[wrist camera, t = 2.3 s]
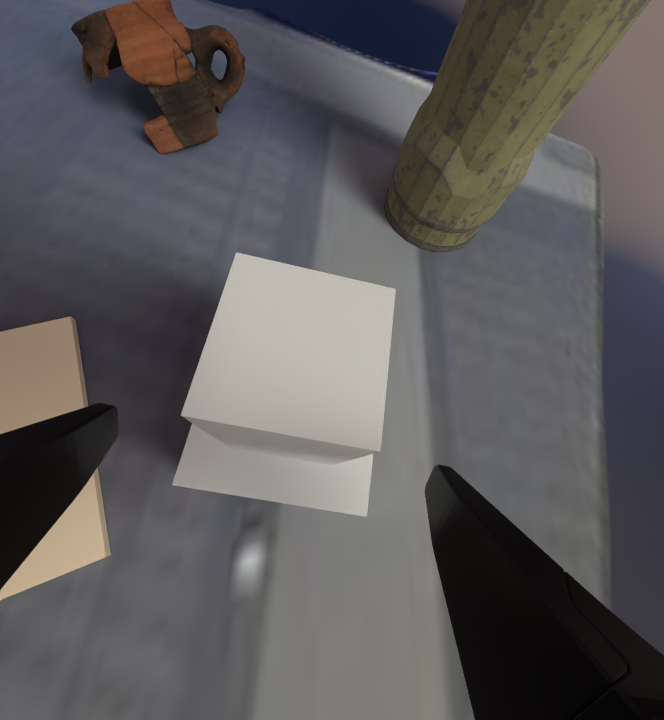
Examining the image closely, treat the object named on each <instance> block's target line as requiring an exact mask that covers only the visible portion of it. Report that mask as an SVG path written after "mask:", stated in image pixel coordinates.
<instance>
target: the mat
mask: <svg viewBox="0 0 664 720" xmlns="http://www.w3.org/2000/svg"><path fill="white" fill-rule="evenodd" d="M84 407H88V399H87V393H86V386H85V379H84V373H83V366H82V359H81V353H80V346H79V339H78V333H77V326H76V320H75V319H74V318H72V317H71V316H70V317H65V318H61V319H56V320H52V321H47V322H43V323H38V324H34V325H29V326H24V327H20V328H15V329H11V330H6V331H2V332H0V434H2V433H5V432H8V431H12V430H15V429H18V428H21V427H24V426H27V425H31V424H34V423H37V422H40V421H43V420H46V419H50V418H53V417H56V416H59V415H62V414H65V413H69V412H72V411H75V410H78V409H81V408H84ZM110 555H111V553H110V546H109V540H108V533H107V526H106V520H105V513H104V506H103V500H102V493H101V486H100V480H99V473H98V467H97V469H96V470H95V472H94V473H93V475H92V476H91V478H90V479H89V481H88V482H87V484H86V485H85V486H84V488H83V489H82V491H81V492H80V493H79V494H78V496H77V497H76V498H75V500H74V501H73V502H72V503H71V504H70V506H69V507H68V508H67V509H66V511H65V512H64V513H63V514H62V515H61V517H60V518H59V519H58V520H57V522H56V523H55V524H54V525H53V526H52V528H51V529H50V530H49V531H48V533H47V534H46V535H45V536H44V537H43V539H42V540H41V541H40V542H39V544H38V545H37V546H36V547H35V548H34V550H33V551H32V552H31V553H30V555H29V556H28V557H27V558H26V559H25V561H24V562H23V563H22V564H21V566H20V567H19V568H18V569H17V570H16V572H15V573H14V574H13V575H12V577H11V578H10V579H9V580H8V581H7V583H6V584H5V585H4V586H3V588H2V589H1V590H0V600H2V599H4V598H7V597H9V596H12V595H14V594H17V593H19V592H22V591H24V590H27V589H29V588H31V587H34V586H36V585H39V584H41V583H44V582H46V581H49V580H51V579H54V578H56V577H58V576H61V575H63V574H66V573H68V572H71V571H73V570H76V569H78V568H81V567H83V566H85V565H88V564H90V563H93V562H95V561H98V560H100V559H103V558H105V557H107V556H110Z"/></svg>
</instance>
